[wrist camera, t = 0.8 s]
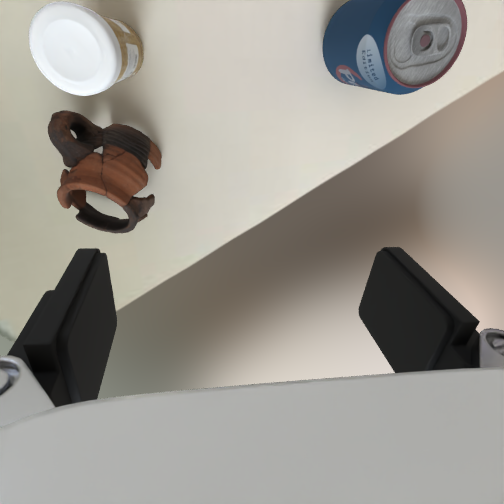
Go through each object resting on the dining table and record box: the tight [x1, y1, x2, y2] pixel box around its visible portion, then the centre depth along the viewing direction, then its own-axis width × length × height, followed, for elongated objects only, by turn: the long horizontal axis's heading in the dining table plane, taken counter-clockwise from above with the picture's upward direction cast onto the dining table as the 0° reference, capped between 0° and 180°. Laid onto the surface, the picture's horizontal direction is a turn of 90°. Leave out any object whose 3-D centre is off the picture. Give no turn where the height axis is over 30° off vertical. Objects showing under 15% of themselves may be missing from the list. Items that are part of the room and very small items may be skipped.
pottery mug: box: [48, 111, 162, 233], centre depth 32 cm, size 12×10×8 cm
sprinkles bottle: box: [29, 2, 143, 96], centre depth 24 cm, size 5×5×14 cm
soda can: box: [323, 0, 467, 95], centre depth 27 cm, size 7×7×12 cm
